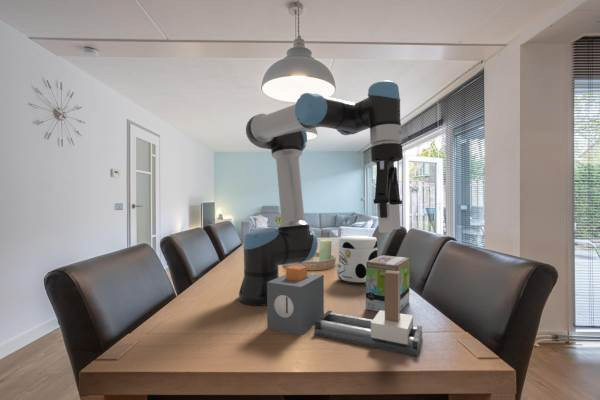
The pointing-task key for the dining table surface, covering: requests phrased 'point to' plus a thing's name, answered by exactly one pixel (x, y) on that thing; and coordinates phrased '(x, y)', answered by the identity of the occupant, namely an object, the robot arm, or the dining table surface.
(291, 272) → the orange cube
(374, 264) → the tea box
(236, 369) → the dining table surface
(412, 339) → the rail track
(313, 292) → the gauge cabinet
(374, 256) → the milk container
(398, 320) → the carriage
